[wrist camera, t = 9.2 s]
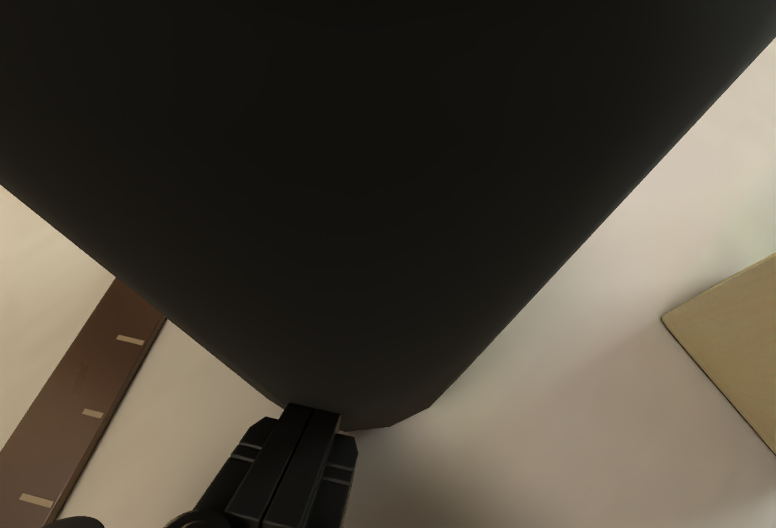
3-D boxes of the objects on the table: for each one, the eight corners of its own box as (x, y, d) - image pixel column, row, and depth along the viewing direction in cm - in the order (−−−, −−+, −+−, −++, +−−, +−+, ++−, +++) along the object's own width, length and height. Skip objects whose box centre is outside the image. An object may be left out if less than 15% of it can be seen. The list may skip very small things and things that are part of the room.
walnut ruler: (35, 555, 13) (25, 557, 13) (-44, 532, 13) (-57, 534, 13) (223, 213, 20) (221, 208, 20) (171, 202, 20) (167, 197, 20)
